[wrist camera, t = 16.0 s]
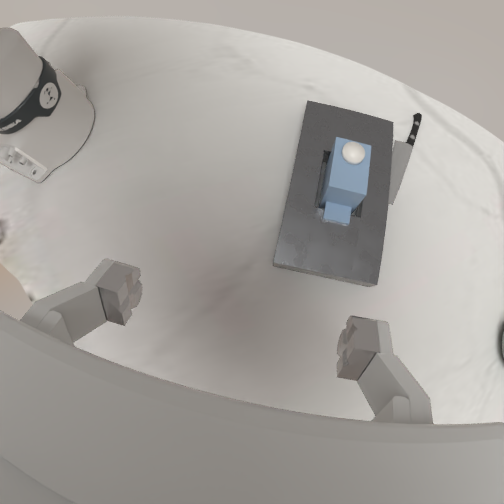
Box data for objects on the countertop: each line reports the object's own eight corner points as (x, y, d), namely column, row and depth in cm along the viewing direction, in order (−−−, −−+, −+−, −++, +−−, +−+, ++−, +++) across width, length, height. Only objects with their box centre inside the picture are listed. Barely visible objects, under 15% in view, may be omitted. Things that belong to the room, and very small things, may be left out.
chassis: (273, 265, 38) (273, 262, 35) (305, 112, 42) (307, 100, 39) (369, 286, 37) (377, 284, 34) (386, 133, 41) (393, 122, 38)
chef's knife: (366, 210, 40) (386, 220, 39) (367, 207, 38) (388, 218, 38) (404, 108, 42) (421, 117, 41) (406, 104, 41) (423, 112, 40)
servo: (314, 225, 39) (326, 201, 30) (327, 154, 40) (339, 118, 32) (346, 232, 38) (366, 210, 30) (356, 161, 40) (374, 127, 31)
